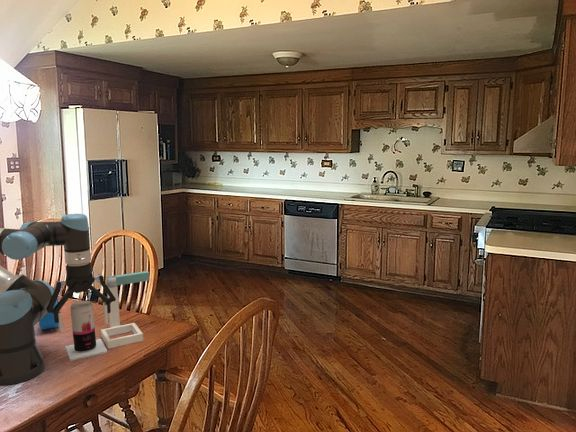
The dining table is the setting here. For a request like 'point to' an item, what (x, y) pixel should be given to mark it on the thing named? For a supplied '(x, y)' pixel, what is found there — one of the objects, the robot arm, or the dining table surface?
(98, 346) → the mat
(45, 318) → the alarm clock
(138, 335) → the grey frame with post
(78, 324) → the beverage can
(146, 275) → the bar
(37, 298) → the robot arm
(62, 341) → the dining table surface
